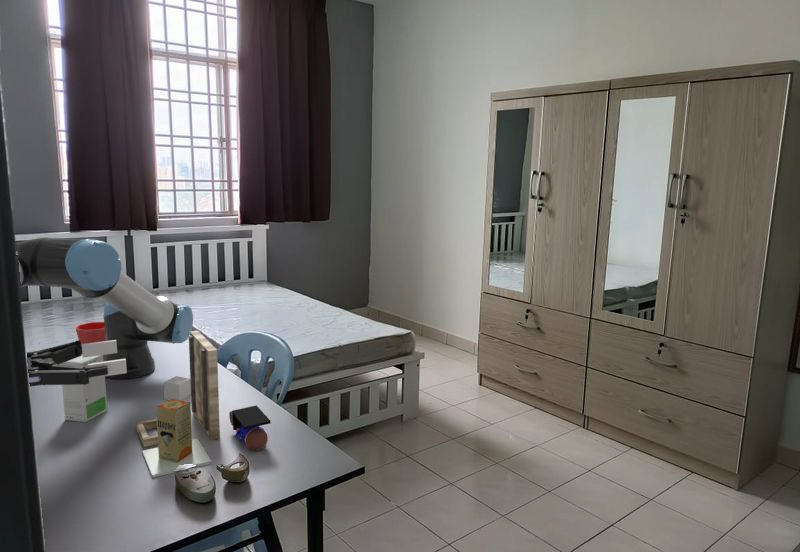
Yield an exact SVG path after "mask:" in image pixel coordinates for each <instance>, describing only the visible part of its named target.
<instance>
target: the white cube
mask: <svg viewBox="0 0 800 552" xmlns="http://www.w3.org/2000/svg"><path fill="white" fill-rule="evenodd" d="M163 393H164V400H167V401H169V400H171V399H176V400H181V401H184V400H185V399H187V398H188V397H191V382H190V377H182V376H177V375H175V376H173V377H171V378H169V379H167V380H165V381H164V382H163Z"/></svg>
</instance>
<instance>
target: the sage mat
mask: <svg viewBox="0 0 800 552" xmlns="http://www.w3.org/2000/svg"><path fill="white" fill-rule="evenodd" d="M142 455H143V458H144V460H145V463H146V466H147V468H148V471H149V473H150V475H151V477H152V478H153V479H154V478H157V477H161V476H165V475H169V474H173V473H176V472H175V470H176V468H177V467H178V466H179V465H184V464H193V465H196V466H198V467H201V466H206V465H209V464H212V460H211V459H210V456H209V455H208V454H207V451H206V450H205V448H204V447H203V446H202V444H201V442H200V441H199V440H198V438H195V439H194V438H193V439H192V453H191V454H190V455H188V456H187V457H185V458H184V459H182V460H181V461H179V462H178V463H176V462H171V461H167V460H163V459H159V454H158V446H157V447H154V448H149V449H144V450H142Z"/></svg>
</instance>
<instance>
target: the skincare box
mask: <svg viewBox="0 0 800 552" xmlns="http://www.w3.org/2000/svg"><path fill="white" fill-rule="evenodd" d="M98 362H104V355H99V356H91V357H84V358H83V356H80V357H77V358H74V359H72V360H69V361H66V362H64V363H61V364H62V365H75V366H87V367H88V364H91V363H98ZM61 386H62V398H63V399H62V400H63V409H64V410H63V411H64V413H63V414H64V420H65V421H71V422H80V423H87V422H89V421H91V420H93V419H94V418H96V417H98V416H100V415H101V414H104V413H105V412H107V411H108V404H107V391H106V390H107V389H106V377H105V376H104V377H98V378H91V379H89V384H86V385H84V384H83V385H61Z"/></svg>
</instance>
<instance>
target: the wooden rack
mask: <svg viewBox="0 0 800 552" xmlns="http://www.w3.org/2000/svg"><path fill="white" fill-rule="evenodd" d="M188 351H189V352H188V353H189V378H190V382H191V395H190V405H191V412H192V414H193V415H194V416H195V418H196V419H197V420H198V422H199V423H200V425H201V427H202V428H203V430H204V431H205V433H206V434H207V435H208V437H209V438H210V440H211V441H212V440H218V439H220V438H221V434H220V433H221V432H220V431H221V430H220V427H221V425H220V397H219V367H218V366H219V365H218V362H219V361H218V349H217V348H216V347H215V346H214V345H213V344H212V343H211V342H210V341H209V340H208V339H207V338H206V337H205V336H204V335H203V334H202V333H201V332H200V331H199V330H191V331H190V335H189V337H188ZM135 427H136V431H137V433H138V436H139V439H140V442H141V443H142V445H143V448H147V447H151V446H155V445H156V446H158V434H154V435H150V436H149V435H148V433H147V430H151V429H157V418H154V419H148V420H147V419H146V420H144V421H138V422H136V426H135Z"/></svg>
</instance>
